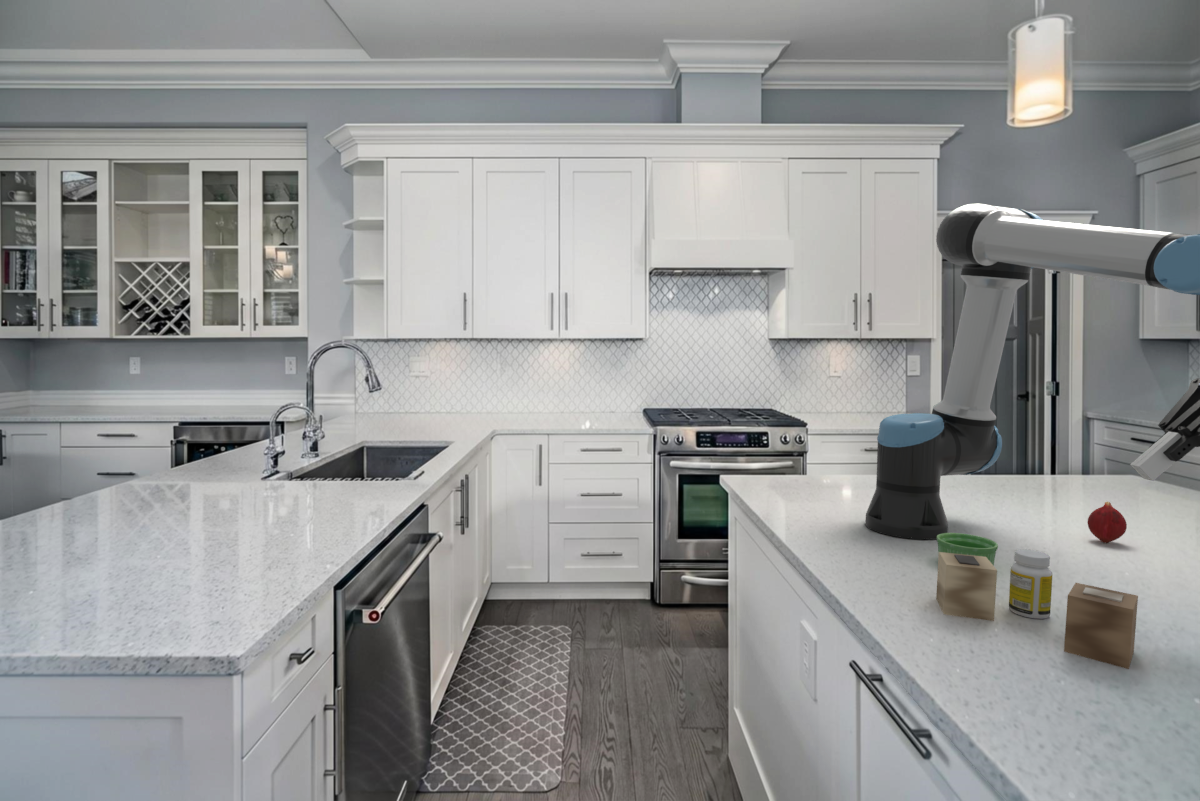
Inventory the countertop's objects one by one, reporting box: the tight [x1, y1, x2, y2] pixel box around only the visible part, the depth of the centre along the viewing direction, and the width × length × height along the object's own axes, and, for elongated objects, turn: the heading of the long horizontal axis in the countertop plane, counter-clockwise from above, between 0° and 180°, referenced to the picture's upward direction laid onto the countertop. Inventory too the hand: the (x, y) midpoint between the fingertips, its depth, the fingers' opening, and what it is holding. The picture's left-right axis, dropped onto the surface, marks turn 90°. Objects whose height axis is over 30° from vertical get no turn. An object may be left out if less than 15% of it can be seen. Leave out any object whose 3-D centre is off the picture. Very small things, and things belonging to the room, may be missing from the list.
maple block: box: [935, 552, 998, 622], centre depth 88 cm, size 6×6×7 cm
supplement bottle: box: [1008, 548, 1053, 620], centre depth 87 cm, size 5×5×8 cm
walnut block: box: [1063, 582, 1139, 670], centre depth 75 cm, size 6×6×7 cm
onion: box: [1087, 501, 1128, 544], centre depth 120 cm, size 6×6×8 cm
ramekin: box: [936, 532, 999, 567], centre depth 107 cm, size 9×9×4 cm
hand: (1141, 472), depth 84 cm, fingers closed
